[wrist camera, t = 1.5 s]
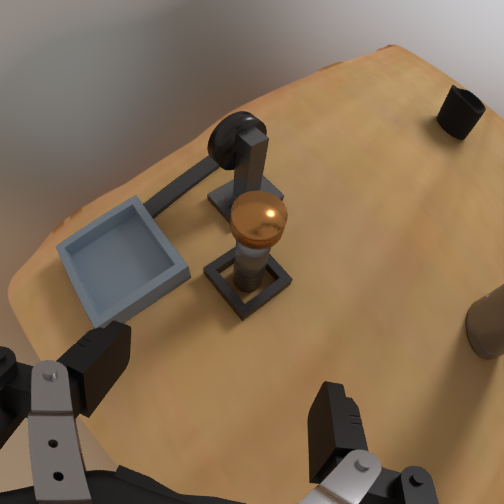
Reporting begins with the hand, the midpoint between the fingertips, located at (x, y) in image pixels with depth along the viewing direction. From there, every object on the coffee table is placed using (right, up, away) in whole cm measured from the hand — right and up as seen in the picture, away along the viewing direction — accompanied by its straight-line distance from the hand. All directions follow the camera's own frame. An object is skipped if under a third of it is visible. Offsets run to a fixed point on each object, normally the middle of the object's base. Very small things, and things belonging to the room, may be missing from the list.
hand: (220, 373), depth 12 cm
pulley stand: (0, +12, +29) cm, 32 cm away
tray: (-14, +3, +23) cm, 27 cm away
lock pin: (+1, +2, +24) cm, 24 cm away
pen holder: (+48, +34, +47) cm, 75 cm away
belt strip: (-8, +14, +30) cm, 34 cm away
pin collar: (+1, +2, +24) cm, 24 cm away
